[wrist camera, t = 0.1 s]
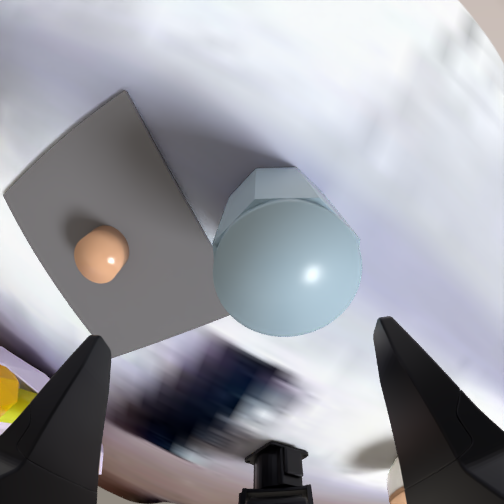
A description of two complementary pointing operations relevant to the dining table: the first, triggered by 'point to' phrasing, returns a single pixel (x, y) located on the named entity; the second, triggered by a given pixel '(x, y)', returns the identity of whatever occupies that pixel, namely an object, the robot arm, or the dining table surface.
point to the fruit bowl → (19, 389)
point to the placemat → (127, 222)
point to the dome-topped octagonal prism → (284, 255)
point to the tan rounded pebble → (101, 254)
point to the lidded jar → (396, 484)
